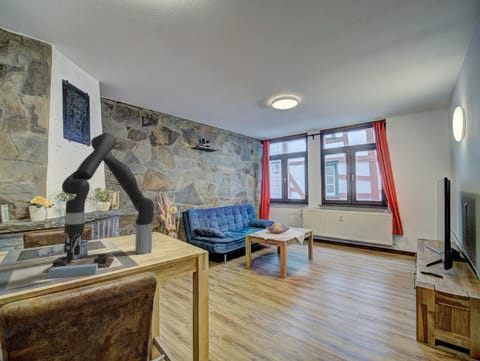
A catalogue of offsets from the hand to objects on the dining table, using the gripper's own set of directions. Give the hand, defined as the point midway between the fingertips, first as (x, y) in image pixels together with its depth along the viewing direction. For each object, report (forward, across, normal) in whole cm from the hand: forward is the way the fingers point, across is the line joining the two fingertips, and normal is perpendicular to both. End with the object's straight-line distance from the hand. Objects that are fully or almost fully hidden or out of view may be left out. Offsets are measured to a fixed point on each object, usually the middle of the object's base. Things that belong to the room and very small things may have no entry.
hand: (73, 257), depth 105 cm
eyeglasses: (+8, +40, +22) cm, 47 cm away
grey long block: (+8, 0, -1) cm, 8 cm away
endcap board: (+8, +11, 0) cm, 13 cm away
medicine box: (+8, +29, +7) cm, 31 cm away
